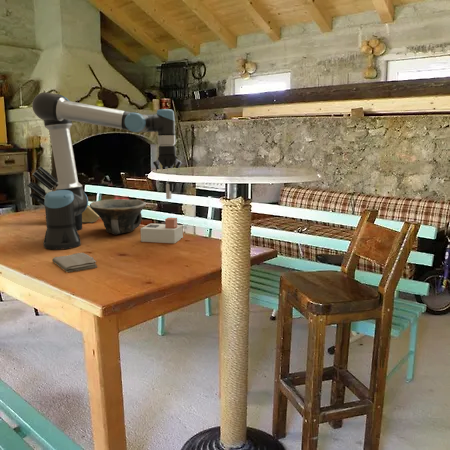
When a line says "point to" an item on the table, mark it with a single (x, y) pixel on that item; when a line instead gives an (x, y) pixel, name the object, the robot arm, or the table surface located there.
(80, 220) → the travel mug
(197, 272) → the table surface
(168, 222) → the pink cube
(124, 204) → the bowl
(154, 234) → the block
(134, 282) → the table surface
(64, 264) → the washcloth
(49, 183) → the knife block
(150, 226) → the grey metal cube
